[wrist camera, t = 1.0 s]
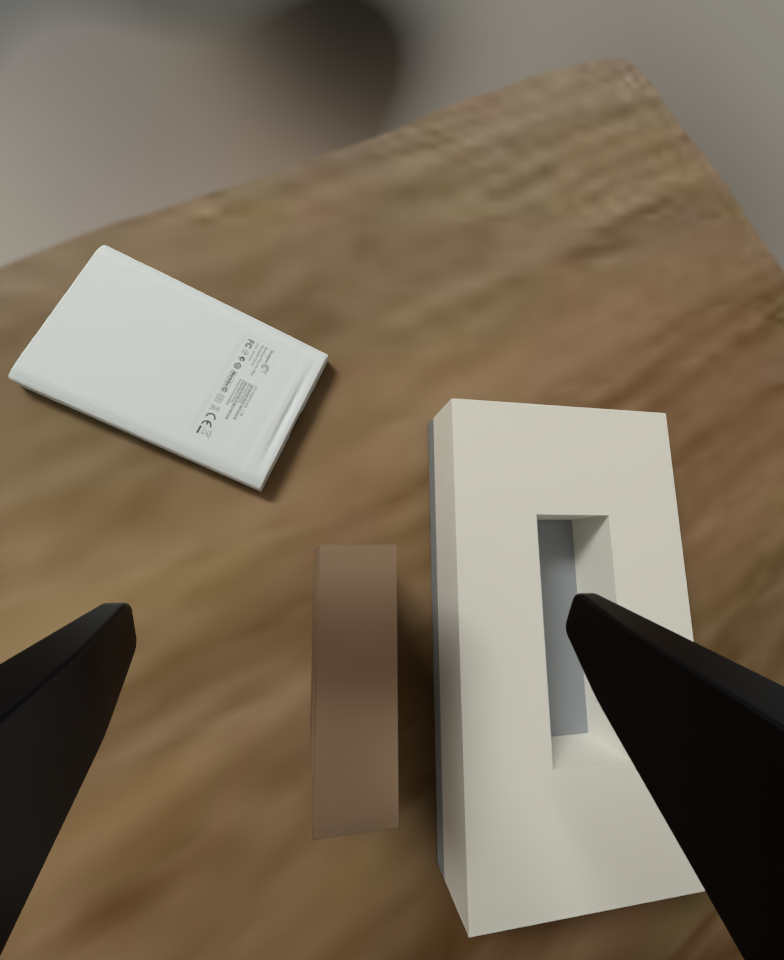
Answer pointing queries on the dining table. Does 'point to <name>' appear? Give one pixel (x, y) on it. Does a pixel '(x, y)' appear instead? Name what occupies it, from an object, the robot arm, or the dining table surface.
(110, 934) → the dining table surface
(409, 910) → the dining table surface
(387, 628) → the walnut plate
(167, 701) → the dining table surface
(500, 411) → the slotted board
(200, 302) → the external hard drive
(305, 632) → the dining table surface
